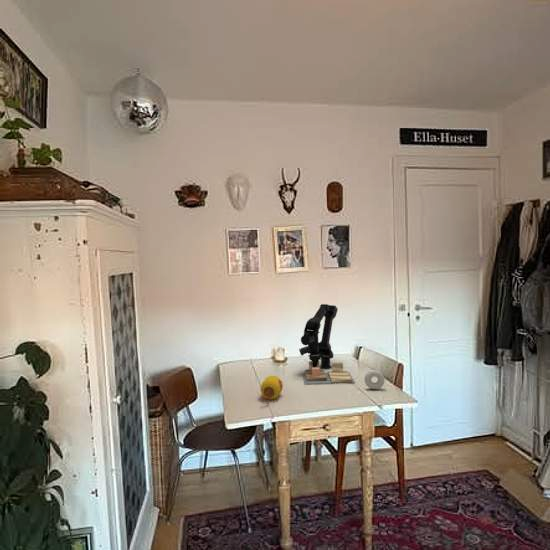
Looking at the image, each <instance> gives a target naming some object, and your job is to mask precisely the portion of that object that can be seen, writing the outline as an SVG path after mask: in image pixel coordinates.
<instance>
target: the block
mask: <svg viewBox="0 0 550 550" xmlns="http://www.w3.org/2000/svg"><path fill="white" fill-rule="evenodd" d="M320 369H321V368H320ZM320 369H319V367H312V376H320Z"/></svg>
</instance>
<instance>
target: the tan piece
mask: <svg viewBox="0 0 550 550" xmlns="http://www.w3.org/2000/svg"><path fill="white" fill-rule="evenodd" d="M331 367H332V368H331V370H328V371H327V373H328V375H329V377H330V380H331V382H352V379H351V377H350V375H351V374H350V375H349V373H350V372H349V371H348V370H344V363H343V362H339V361H338V362H331ZM348 372H349V373H348Z"/></svg>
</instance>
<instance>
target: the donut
mask: <svg viewBox="0 0 550 550" xmlns="http://www.w3.org/2000/svg"><path fill="white" fill-rule="evenodd" d="M374 377H375V378H377V381H376V382H373V381H372V378H374ZM364 384H365V385H366V386H367V387H368V389H371V390H374V389H376V390H379V389H381V388H382V387H383V386H384V385H385V375H384V374H383V373H382V371H379V370H377V369H371V370H369V371H367V372H366V374H365V375H364Z"/></svg>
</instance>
